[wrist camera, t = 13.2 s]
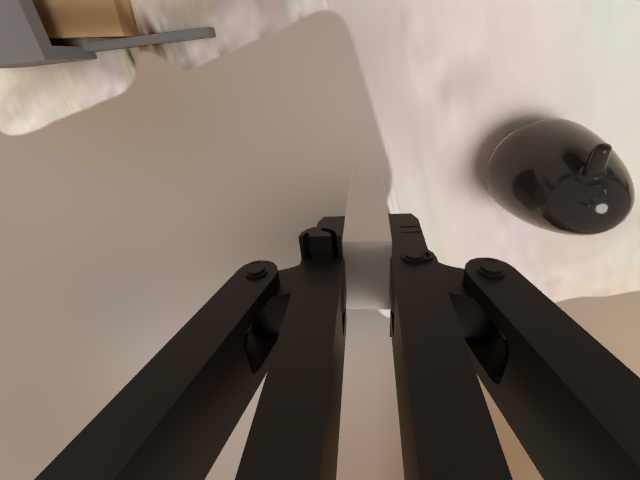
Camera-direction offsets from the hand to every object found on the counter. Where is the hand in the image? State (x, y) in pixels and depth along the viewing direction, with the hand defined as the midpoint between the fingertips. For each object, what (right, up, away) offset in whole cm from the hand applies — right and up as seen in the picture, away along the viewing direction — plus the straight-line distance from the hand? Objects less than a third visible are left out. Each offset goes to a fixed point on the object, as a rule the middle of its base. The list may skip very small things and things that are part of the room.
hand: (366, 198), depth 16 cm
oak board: (-29, +23, +20) cm, 42 cm away
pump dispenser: (+21, +8, +21) cm, 31 cm away
